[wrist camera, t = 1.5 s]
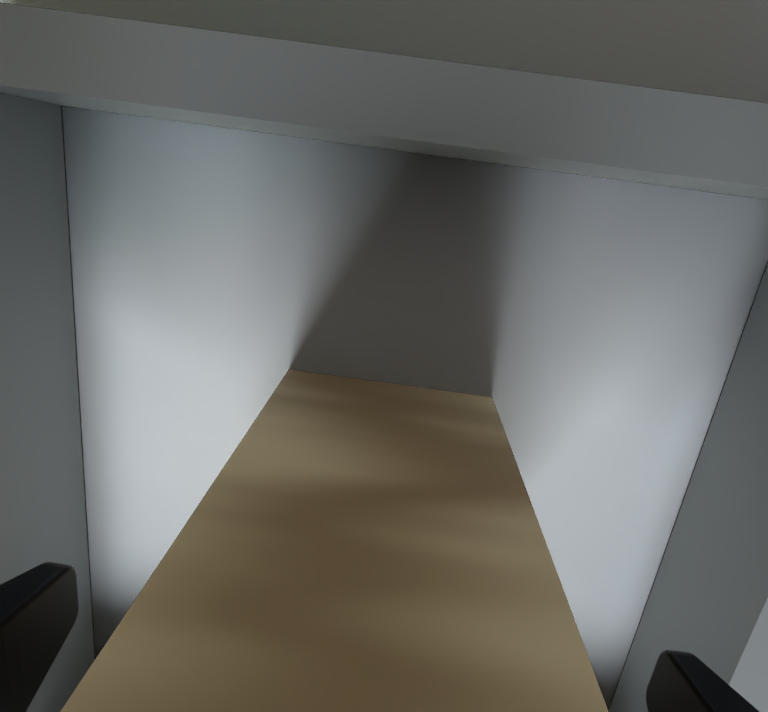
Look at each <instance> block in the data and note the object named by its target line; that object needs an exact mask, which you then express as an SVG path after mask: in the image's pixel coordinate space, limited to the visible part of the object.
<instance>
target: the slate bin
mask: <svg viewBox="0 0 768 712" xmlns="http://www.w3.org/2000/svg"><path fill="white" fill-rule="evenodd" d="M61 106H68V107H75V108H83V109H90V110H98V111H105V112H113V113H120V114H128V115H135V116H143V117H150V118H158V119H165V120H173V121H180V122H188V123H196V124H203V125H211V126H218V127H226V128H233V129H241V130H248V131H256V132H263V133H271V134H278V135H286V136H293V137H301V138H308V139H316V140H323V141H331V142H338V143H346V144H353V145H361V146H368V147H376V148H383V149H391V150H398V151H406V152H413V153H421V154H429V155H436V156H444V157H451V158H459V159H466V160H474V161H481V162H489V163H496V164H504V165H511V166H519V167H526V168H534V169H541V170H549V171H556V172H564V173H571V174H579V175H586V176H594V177H601V178H609V179H616V180H624V181H631V182H639V183H646V184H654V185H662V186H669V187H677V188H684V189H692V190H699V191H707V192H714V193H722V194H729V195H737V196H744V197H752V198H759V199H767V200H768V103H762V102H755V101H747V100H739V99H732V98H724V97H716V96H709V95H701V94H694V93H686V92H678V91H671V90H663V89H655V88H648V87H640V86H633V85H625V84H617V83H610V82H602V81H594V80H587V79H579V78H572V77H564V76H556V75H549V74H541V73H533V72H526V71H518V70H511V69H503V68H495V67H488V66H480V65H472V64H465V63H457V62H450V61H442V60H434V59H427V58H419V57H411V56H404V55H396V54H389V53H381V52H373V51H366V50H358V49H350V48H343V47H335V46H328V45H320V44H312V43H305V42H297V41H289V40H282V39H274V38H267V37H259V36H251V35H244V34H236V33H228V32H221V31H213V30H206V29H198V28H190V27H183V26H175V25H167V24H160V23H152V22H145V21H137V20H129V19H122V18H114V17H106V16H99V15H91V14H84V13H76V12H68V11H61V10H53V9H45V8H38V7H30V6H23V5H15V4H7V3H0V584H2V583H4V582H6V581H8V580H10V579H12V578H14V577H16V576H18V575H20V574H22V573H24V572H26V571H28V570H30V569H32V568H34V567H36V566H38V565H40V564H42V563H45V562H56V563H63V564H70V565H72V566H74V567H75V569H76V573H77V584H78V598H79V611H78V616H77V619H76V621H75V624H74V626H73V628H72V629H71V631H70V633H69V635H68V637H67V638H66V640H65V642H64V644H63V646H62V648H61V649H60V651H59V653H58V655H57V657H56V659H55V660H54V662H53V664H52V666H51V668H50V670H49V671H48V673H47V675H46V677H45V679H44V680H43V682H42V684H41V686H40V688H39V690H38V691H37V693H36V695H35V697H34V699H33V701H32V702H31V704H30V706H29V708H28V710H27V712H60V711H61V710H62V708H63V707H64V705H65V704H66V702H67V701H68V699H69V698H70V696H71V695H72V693H73V692H74V690H75V689H76V687H77V686H78V684H79V683H80V681H81V680H82V678H83V677H84V676H85V674H86V673H87V671H88V670H89V668H90V667H91V665H92V664H93V662H94V661H95V657H94V640H93V624H92V607H91V591H90V575H89V558H88V542H87V526H86V509H85V493H84V476H83V460H82V444H81V427H80V411H79V394H78V378H77V362H76V345H75V329H74V312H73V296H72V280H71V263H70V247H69V231H68V214H67V198H66V181H65V165H64V149H63V132H62V116H61ZM666 649H670V650H677V651H683V652H689V653H692V654H693V655H695V656H696V657H698V658H699V659H700V660H701V661H702V662H703V663H704V664H706V665H707V666H708V667H709V668H710V669H711V670H713V671H714V672H715V673H716V674H717V675H718V676H719V677H721V678H722V679H723V680H724V681H725V682H726V683H727V684H729V685H730V686H731V687H732V688H733V689H734V690H735V691H737V692H738V693H739V694H740V695H741V696H742V697H744V698H745V699H746V700H747V701H748V702H749V703H750V704H752V705H753V706H754V707H755V708H756V709H757V710H758V711H760V712H768V264H767V267H766V270H765V272H764V275H763V278H762V281H761V284H760V286H759V289H758V292H757V295H756V298H755V301H754V303H753V306H752V309H751V312H750V315H749V317H748V320H747V323H746V326H745V329H744V331H743V334H742V337H741V340H740V343H739V346H738V348H737V351H736V354H735V357H734V360H733V362H732V365H731V368H730V371H729V374H728V376H727V379H726V382H725V385H724V388H723V391H722V393H721V396H720V399H719V402H718V405H717V407H716V410H715V413H714V416H713V419H712V421H711V424H710V427H709V430H708V433H707V436H706V438H705V441H704V444H703V447H702V450H701V452H700V455H699V458H698V461H697V464H696V466H695V469H694V472H693V475H692V478H691V481H690V483H689V486H688V489H687V492H686V495H685V497H684V500H683V503H682V506H681V509H680V511H679V514H678V517H677V520H676V523H675V526H674V528H673V531H672V534H671V537H670V540H669V542H668V545H667V548H666V551H665V554H664V556H663V559H662V562H661V565H660V568H659V571H658V573H657V576H656V579H655V582H654V585H653V587H652V590H651V593H650V596H649V599H648V601H647V604H646V607H645V610H644V613H643V616H642V618H641V621H640V624H639V627H638V630H637V632H636V635H635V638H634V641H633V644H632V646H631V649H630V652H629V655H628V658H627V661H626V663H625V666H624V669H623V672H622V675H621V677H620V680H619V683H618V686H617V689H616V692H615V694H614V697H613V700H612V703H611V706H610V708H609V711H608V712H648V709H647V705H646V689H647V685H648V683H649V680H650V677H651V675H652V672H653V669H654V667H655V664H656V661H657V659H658V656H659V654H660V653H661V652H662V651H663V650H666Z"/></svg>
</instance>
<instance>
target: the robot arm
mask: <svg viewBox="0 0 768 712" xmlns="http://www.w3.org/2000/svg"><path fill="white" fill-rule="evenodd" d="M78 611H79V598H78V584H77V573H76V569H75V567H74V566H72V565H70V564H63V563H56V562H45V563H42V564H40V565H38V566H36V567H34V568H32V569H30V570H28V571H26V572H24V573H22V574H20V575H18V576H16V577H14V578H12V579H10V580H8V581H6V582H4V583H2V584H0V712H27V710H28V708H29V706H30V704H31V702H32V701H33V699H34V697H35V695H36V693H37V691H38V690H39V688H40V686H41V684H42V682H43V680H44V679H45V677H46V675H47V673H48V671H49V670H50V668H51V666H52V664H53V662H54V660H55V659H56V657H57V655H58V653H59V651H60V649H61V648H62V646H63V644H64V642H65V640H66V638H67V637H68V635H69V633H70V631H71V629H72V628H73V626H74V624H75V621H76V619H77V616H78ZM646 705H647V709H648V712H760V711H758V710H757V709H756V708H755V707H754V706H753V705H752V704H750V703H749V702H748V701H747V700H746V699H745V698H744V697H742V696H741V695H740V694H739V693H738V692H737V691H735V690H734V689H733V688H732V687H731V686H730V685H729V684H727V683H726V682H725V681H724V680H723V679H722V678H721V677H719V676H718V675H717V674H716V673H715V672H714V671H713V670H711V669H710V668H709V667H708V666H707V665H706V664H704V663H703V662H702V661H701V660H700V659H699V658H698V657H696V656H695V655H693V654H692V653H689V652H683V651H677V650H670V649H666V650H663V651H662V652H661V653H660V654H659V656H658V659H657V661H656V664H655V667H654V669H653V672H652V675H651V677H650V680H649V683H648V685H647V689H646Z"/></svg>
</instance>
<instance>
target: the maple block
mask: <svg viewBox="0 0 768 712" xmlns="http://www.w3.org/2000/svg"><path fill="white" fill-rule="evenodd" d="M60 712H608V709H607V706H606V703H605V701H604V698H603V695H602V693H601V690H600V687H599V685H598V682H597V679H596V677H595V674H594V671H593V668H592V666H591V663H590V660H589V658H588V655H587V652H586V650H585V647H584V644H583V641H582V639H581V636H580V633H579V631H578V628H577V625H576V623H575V620H574V617H573V614H572V612H571V609H570V606H569V604H568V601H567V598H566V596H565V593H564V590H563V588H562V585H561V582H560V579H559V577H558V574H557V571H556V569H555V566H554V563H553V561H552V558H551V555H550V552H549V550H548V547H547V544H546V542H545V539H544V536H543V534H542V531H541V528H540V525H539V523H538V520H537V517H536V515H535V512H534V509H533V507H532V504H531V501H530V499H529V496H528V493H527V490H526V488H525V485H524V482H523V480H522V477H521V474H520V472H519V469H518V466H517V463H516V461H515V458H514V455H513V453H512V450H511V447H510V445H509V442H508V439H507V437H506V434H505V431H504V428H503V426H502V423H501V420H500V418H499V415H498V412H497V410H496V407H495V404H494V401H493V399H492V397H486V396H479V395H472V394H464V393H457V392H450V391H443V390H435V389H428V388H421V387H414V386H406V385H399V384H392V383H385V382H377V381H370V380H363V379H355V378H348V377H341V376H334V375H326V374H319V373H312V372H305V371H297V370H290V369H289V370H288V372H287V373H286V375H285V376H284V378H283V379H282V381H281V382H280V384H279V385H278V387H277V388H276V390H275V391H274V393H273V394H272V396H271V397H270V399H269V400H268V402H267V403H266V405H265V406H264V408H263V409H262V411H261V412H260V414H259V415H258V417H257V418H256V420H255V421H254V423H253V424H252V426H251V427H250V429H249V430H248V432H247V433H246V435H245V436H244V438H243V439H242V440H241V442H240V443H239V445H238V446H237V448H236V449H235V451H234V452H233V454H232V455H231V457H230V458H229V460H228V461H227V463H226V464H225V466H224V467H223V469H222V470H221V472H220V473H219V475H218V476H217V478H216V479H215V481H214V482H213V484H212V485H211V487H210V488H209V490H208V491H207V493H206V494H205V496H204V497H203V499H202V500H201V502H200V503H199V505H198V506H197V508H196V509H195V511H194V512H193V514H192V515H191V517H190V518H189V520H188V521H187V523H186V524H185V526H184V527H183V529H182V530H181V532H180V533H179V535H178V536H177V538H176V539H175V541H174V542H173V544H172V545H171V547H170V548H169V550H168V551H167V553H166V554H165V556H164V557H163V559H162V560H161V562H160V563H159V565H158V566H157V568H156V569H155V571H154V572H153V574H152V575H151V577H150V578H149V580H148V581H147V583H146V584H145V586H144V587H143V589H142V590H141V592H140V593H139V595H138V596H137V598H136V599H135V601H134V602H133V604H132V605H131V607H130V608H129V610H128V611H127V613H126V614H125V616H124V617H123V619H122V620H121V622H120V623H119V625H118V626H117V628H116V629H115V631H114V632H113V634H112V635H111V637H110V638H109V640H108V641H107V643H106V644H105V646H104V647H103V649H102V650H101V652H100V653H99V655H98V656H97V658H96V659H95V661H94V662H93V664H92V665H91V667H90V668H89V670H88V671H87V673H86V674H85V676H84V677H83V678H82V680H81V681H80V683H79V684H78V686H77V687H76V689H75V690H74V692H73V693H72V695H71V696H70V698H69V699H68V701H67V702H66V704H65V705H64V707H63V708H62V710H61V711H60Z"/></svg>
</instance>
